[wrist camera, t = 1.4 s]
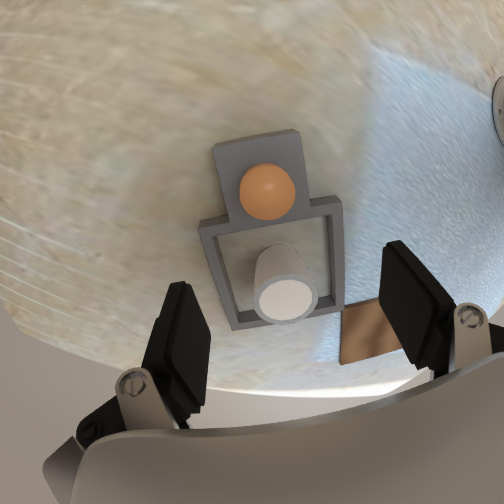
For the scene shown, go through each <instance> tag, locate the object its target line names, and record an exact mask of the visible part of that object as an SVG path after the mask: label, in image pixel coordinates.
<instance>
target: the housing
mask: <svg viewBox="0 0 504 504" xmlns="http://www.w3.org/2000/svg"><path fill="white" fill-rule="evenodd" d="M212 152H213V156H214V160H215V164H216V168H217V172H218V176H219V180H220V184H221V188H222V192H223V196H224V200H225V204H226V208H227V212H228V215H225V216H220V217H215V218H211V219H206V220H201V221H200V224H199V227H198V232H199V235H200V238H201V241H202V244H203V247H204V250H205V254H206V257H207V260H208V263H209V266H210V269H211V272H212V275H213V278H214V281H215V284H216V287H217V290H218V293H219V295H220V298H221V301H222V304H223V307H224V310H225V313H226V315H227V318H228V321H229V324H230V327H231V329H232V331H234V330H241V329H248V328H254V327H261V326H267V325H272V324H274V323H269V322H267V321H265V320H264V319H262V318H260V317H259V315H258V314H257V313H256V311H255V310H251V311H244V312H239V311H238V308H237V305H236V302H235V299H234V295H233V292H232V289H231V286H230V282H229V279H228V276H227V272H226V269H225V266H224V262H223V259H222V256H221V252H220V249H219V245H218V242H217V238H216V236H218V235H223V234H228V233H233V232H238V231H243V230H248V229H253V228H258V227H264V226H269V225H274V224H280V223H285V222H291V221H296V220H302V219H307V218H313V217H318V216H324V215H327V218H328V231H329V245H330V263H331V288H332V295H330V296H326V297H321V298H318V303H317V304H316V306H315V308H314V310H313V311H312V312H311V313H310V314H309V315H308V316H307V317H305V318H310V317H315V316H320V315H325V314H329V313H334V312H338V311H343V310H344V299H345V262H344V230H343V211H342V201H341V200H340V199H339V198H338V197H337V196H336V195H334V196H328V197H322V198H316V199H309V192H308V184H307V177H306V169H305V163H304V156H303V149H302V143H301V137H300V132H298V131H296V130H294V129H290V130H284V131H277V132H271V133H266V134H260V135H255V136H249V137H244V138H239V139H235V140H230V141H225V142H221V143H217V144H215V145H214V146H213V148H212ZM264 162H268V163H274V164H276V165H279V166H280V167H282V168H283V169H284V170H285V171H286V172H287V174H288V175H289V177H290V178H291V180H292V182H293V184H294V187H295V200H294V203H293V205H292V207H291V208H290V210H289V211H288V212H287V213H286V214H284V215H283V216H281V217H279V218H277V219H274V220H260V219H257V218H255V217H253V216H251V215H250V214H248V213H247V212H246V211H245V209H244V208H243V206H242V204H241V201H240V182H241V179H242V176H243V175H244V173H245V172H246V171H247V170H248V169H249V168H250V167H252V166H253V165H256V164H258V163H264ZM305 318H304V319H305Z"/></svg>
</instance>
